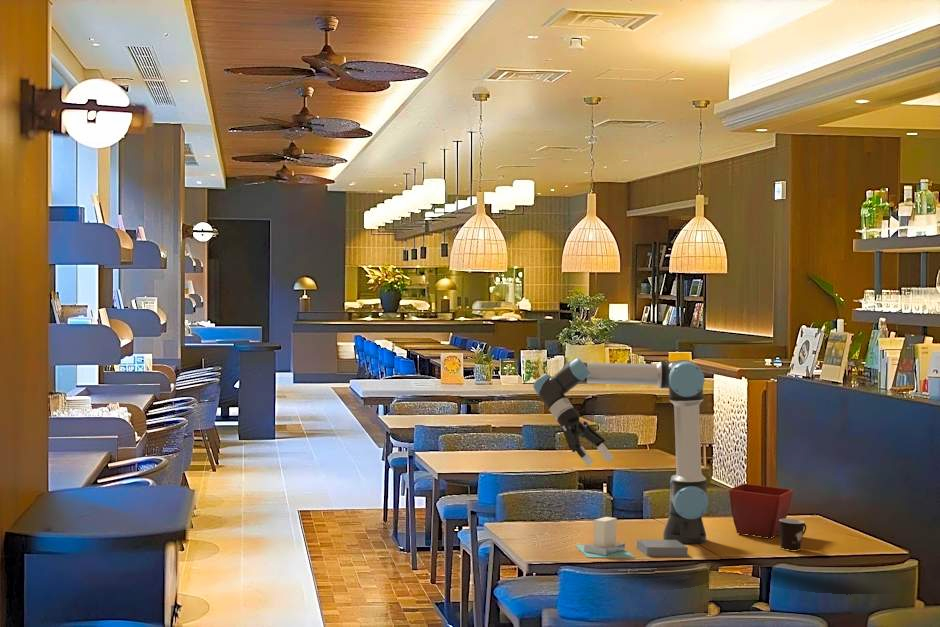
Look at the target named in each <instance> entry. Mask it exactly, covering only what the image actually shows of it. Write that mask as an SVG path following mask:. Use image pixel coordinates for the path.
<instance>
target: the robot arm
mask: <svg viewBox="0 0 940 627" xmlns="http://www.w3.org/2000/svg"><path fill="white" fill-rule="evenodd" d="M579 384H597V385H598V384H599V385H601V384H603V385H605V384H606V385H629V386H630V385H631V386H634V385H635V386H636V385H637V386H657V387H658V388H659V389H666V390H667V389H668V395H669V397H668V399H669V402H670V403H671V404H673V410H674V411H673V413H674V416H673V417H674V418H673V419H674V437H675V439H674V440H675V441H674V442H675V466H676V468H675V469H676V470H675V471H676V472H675V474H673V475H672V476H671V477H670V481H669V485H670V489H669V491H670V493H669V509H668V510H669V513H668V518H667V522H666V524H665V526H664V530H663V534H662V535H663V536H662V538H663V540H677V541H679V542H680V543H682V544H703V543H705V542H706V541H707V533H706V529H705V525H704V521H703V515H704V514H705V513H706V512H707V510H708V507H709V504H710V503H709V502H710V501H709V497H708V493H707V492H708V491H707V478H706V477H705V476H704V475H703V473H702V454H701V453H702V452H701V451H702V449H701V423H700V422H701V421H700V420H701V419H700V418H701V417H700V404H701V403H702V402H704V385H705V374H704V372H703V370H702V368H701V367H700V366H699V365H698V364H696V363H695V362H693V361H690V360H687V359H679V360H673V361H671V360H670V361H659V362H658V363H627V362H626V363H624V362H623V363H622V362H621V363H619V362H617V363H616V362H583V361H582V359H580V358H579V357H576V358H575V359H573V360H571V361H568V362H566V363H565V364H564V365H563V367H562V368H561V369H560V370H559V371H558V372H556V373H555V374H553V376H551V375H550V374H547V373H546V374H543V375H542V376H540V377H538V378H537V379H536V380H535V381H534V384H533V387H532V388H533V390H534V391H535V393H536V394H537V396H538V397H539V398H540V400H541V401H542V402H543V404H544V405H545V406H546V409H548V411H549V412H550V413H551V415H552V416H553V418H554V419H555V420H556V421H557V423H558V425H560V430H561V431H562V433H563V435H564V437H565V440H566V442H567V446H568V448H569V450H571V452H572V453H577V454H578V456H579V457H580V459H581V460H582V462H584V464H585V465H586V467H590V466H591V465H592V464H593V463H594V460H593V459H592V457H591V456H590V454H589V453H588V452H587V450H586V448H584V446H583V445H582V446H581V442H580V441H581V440H580V437H581V438H585V439H586V440H587V441H588V442H590V443H592V444H593V445H595V446H596V448H597V450H598V451H599V453H600V454H601V456H602V457H603V458H604V459H605V461H606V463H610V462H612V460H613V459H614V458H615V457H614V456H613V455H612V453H611V452H610V450H609V449H608V447H606V445H605V444H604V443H605V442H606V439H605V438H604V437H603V436H601V434H600V433H598V432H597V430H596V429H594V428H593V427H592V426H590V425H589V423H588V422H587V421H586V420H585V421H583V422H581V421H580V418H581V416H580V414H579V412H578V411H577V409H576V408H574V405H572V403H571V402H570V399H569V398H567V396H566V394H567V393H568V392H569V391H570V390H573V388H575V387H576V386H577V385H579Z"/></svg>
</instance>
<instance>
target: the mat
mask: <svg viewBox="0 0 940 627" xmlns="http://www.w3.org/2000/svg"><path fill="white" fill-rule="evenodd" d="M584 545H585V544H575V545H574V546H575V547H576V548H577V549H578V550H579V551H580V552H581V553H582V554H583V555H584V556H585V557H586V558H587V559H636V557H635V556H634V555H633V554H632V553H631V552H630V551H628V550H627V549H625V550H624V551H621V552H617V553H614V554H611V555H608V556H603V555H598V554H593V553H588V552H584Z"/></svg>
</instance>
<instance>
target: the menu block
mask: <svg viewBox="0 0 940 627" xmlns="http://www.w3.org/2000/svg"><path fill="white" fill-rule="evenodd" d="M617 519H618V518H616V517H612V516H611V517H610V516H604V517H600V518H597V519H594V520H593V521H594V522H593V523H594V524H593V525H594V526H593V542H592V543H593V546H596V547H602V548H607V547H611V546H614V545H616V542H617Z"/></svg>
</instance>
